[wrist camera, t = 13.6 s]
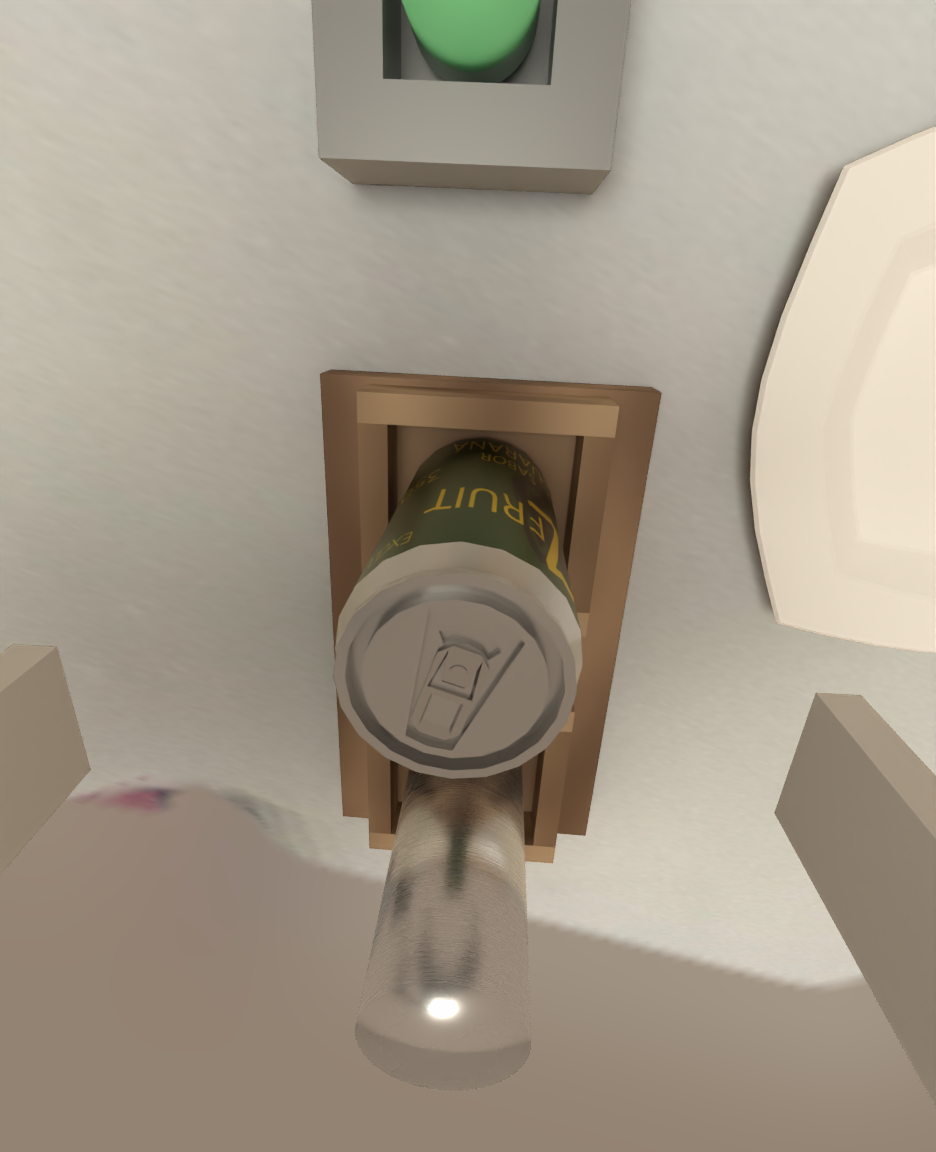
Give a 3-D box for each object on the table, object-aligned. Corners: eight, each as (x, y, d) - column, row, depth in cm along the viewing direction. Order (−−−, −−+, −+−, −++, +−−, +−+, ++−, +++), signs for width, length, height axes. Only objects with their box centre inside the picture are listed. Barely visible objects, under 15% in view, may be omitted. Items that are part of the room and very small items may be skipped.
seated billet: (413, 790, 29) (357, 1081, 18) (414, 705, 27) (352, 976, 16) (517, 799, 29) (523, 1097, 18) (526, 713, 27) (539, 993, 16)
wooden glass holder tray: (350, 793, 32) (332, 848, 28) (331, 369, 23) (303, 380, 20) (581, 812, 31) (590, 870, 28) (652, 387, 22) (675, 401, 19)
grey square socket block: (352, 183, 20) (318, 157, 17) (343, -152, 17) (298, -274, 13) (591, 194, 20) (610, 170, 16) (629, -145, 17) (663, -268, 13)
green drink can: (518, 587, 24) (527, 816, 14) (391, 542, 24) (295, 741, 13) (573, 464, 22) (636, 618, 11) (435, 411, 22) (363, 520, 11)
